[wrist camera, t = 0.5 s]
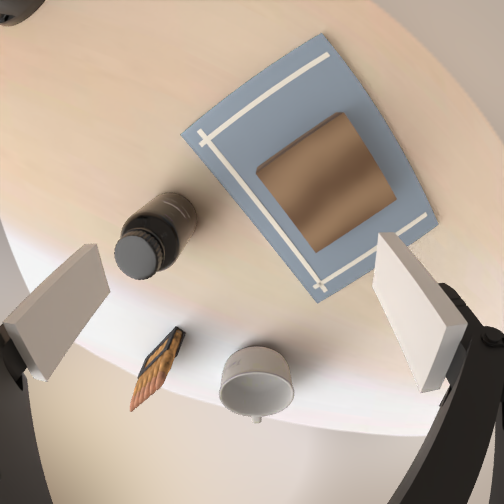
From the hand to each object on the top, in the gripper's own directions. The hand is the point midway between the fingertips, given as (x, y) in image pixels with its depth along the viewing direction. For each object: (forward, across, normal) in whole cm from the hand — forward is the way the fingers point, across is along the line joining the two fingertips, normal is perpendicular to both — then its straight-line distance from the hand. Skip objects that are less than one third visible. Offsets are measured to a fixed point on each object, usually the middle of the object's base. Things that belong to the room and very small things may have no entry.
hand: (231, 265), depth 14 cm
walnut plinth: (+23, +8, -1) cm, 25 cm away
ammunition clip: (+25, -17, -27) cm, 40 cm away
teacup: (+25, -2, -32) cm, 40 cm away
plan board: (+24, +8, -1) cm, 26 cm away
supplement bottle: (+24, -11, -6) cm, 27 cm away
